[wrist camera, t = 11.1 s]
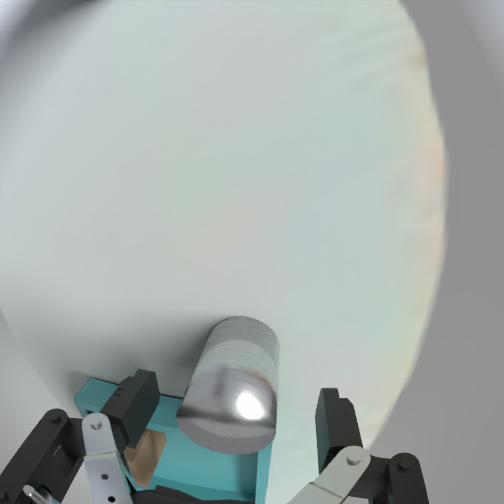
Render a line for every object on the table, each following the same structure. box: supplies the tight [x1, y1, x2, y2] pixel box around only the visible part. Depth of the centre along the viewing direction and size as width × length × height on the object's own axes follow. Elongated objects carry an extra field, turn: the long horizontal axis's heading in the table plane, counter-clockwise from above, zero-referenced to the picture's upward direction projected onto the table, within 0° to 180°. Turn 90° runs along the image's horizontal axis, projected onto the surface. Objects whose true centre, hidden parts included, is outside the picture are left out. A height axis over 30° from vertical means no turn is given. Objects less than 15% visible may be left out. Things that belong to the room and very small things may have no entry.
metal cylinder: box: [176, 317, 279, 455], centre depth 13 cm, size 4×4×6 cm
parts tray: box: [74, 378, 272, 504], centre depth 18 cm, size 14×14×3 cm
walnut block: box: [124, 428, 167, 488], centre depth 15 cm, size 4×4×5 cm
